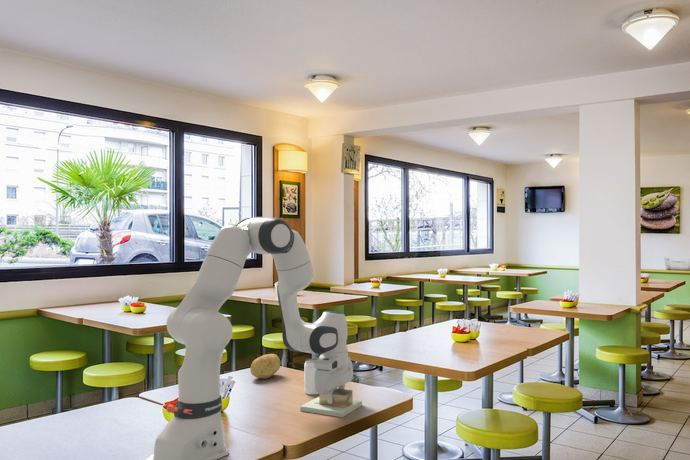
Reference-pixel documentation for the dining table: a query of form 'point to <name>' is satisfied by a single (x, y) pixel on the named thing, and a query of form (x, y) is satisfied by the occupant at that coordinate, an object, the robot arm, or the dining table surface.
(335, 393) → the block
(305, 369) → the can
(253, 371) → the potato
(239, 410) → the dining table surface
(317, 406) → the board
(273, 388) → the dining table surface
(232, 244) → the robot arm
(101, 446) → the dining table surface
